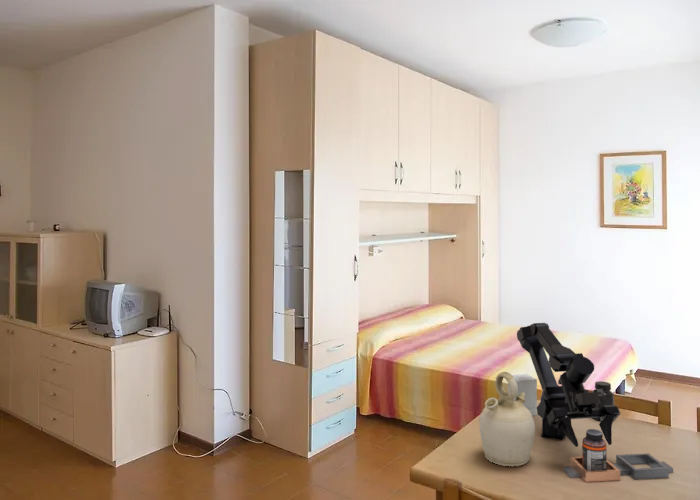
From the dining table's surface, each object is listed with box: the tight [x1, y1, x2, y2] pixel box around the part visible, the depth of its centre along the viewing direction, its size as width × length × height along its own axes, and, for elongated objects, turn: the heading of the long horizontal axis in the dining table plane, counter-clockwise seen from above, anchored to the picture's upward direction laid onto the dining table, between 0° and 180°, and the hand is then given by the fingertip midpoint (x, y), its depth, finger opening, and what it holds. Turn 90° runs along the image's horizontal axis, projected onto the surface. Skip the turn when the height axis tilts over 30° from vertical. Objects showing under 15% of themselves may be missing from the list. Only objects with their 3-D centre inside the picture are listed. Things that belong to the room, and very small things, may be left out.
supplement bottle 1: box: [592, 381, 615, 422], centre depth 190 cm, size 7×7×12 cm
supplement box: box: [507, 373, 538, 417], centre depth 197 cm, size 7×7×13 cm
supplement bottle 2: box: [581, 428, 608, 471], centre depth 152 cm, size 6×6×11 cm
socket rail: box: [563, 452, 674, 483], centre depth 152 cm, size 28×9×2 cm, turn 93°
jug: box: [478, 371, 536, 468], centre depth 162 cm, size 15×16×25 cm
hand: (593, 445), depth 152 cm, fingers open, 9 cm apart
